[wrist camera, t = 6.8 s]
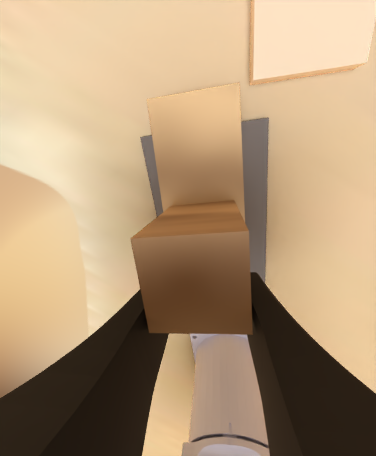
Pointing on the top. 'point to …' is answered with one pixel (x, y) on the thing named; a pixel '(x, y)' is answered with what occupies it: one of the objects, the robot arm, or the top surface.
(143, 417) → the robot arm
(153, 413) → the top surface
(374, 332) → the top surface
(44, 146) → the top surface
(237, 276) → the brown l-shaped block
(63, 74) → the top surface
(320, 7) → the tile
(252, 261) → the mat
